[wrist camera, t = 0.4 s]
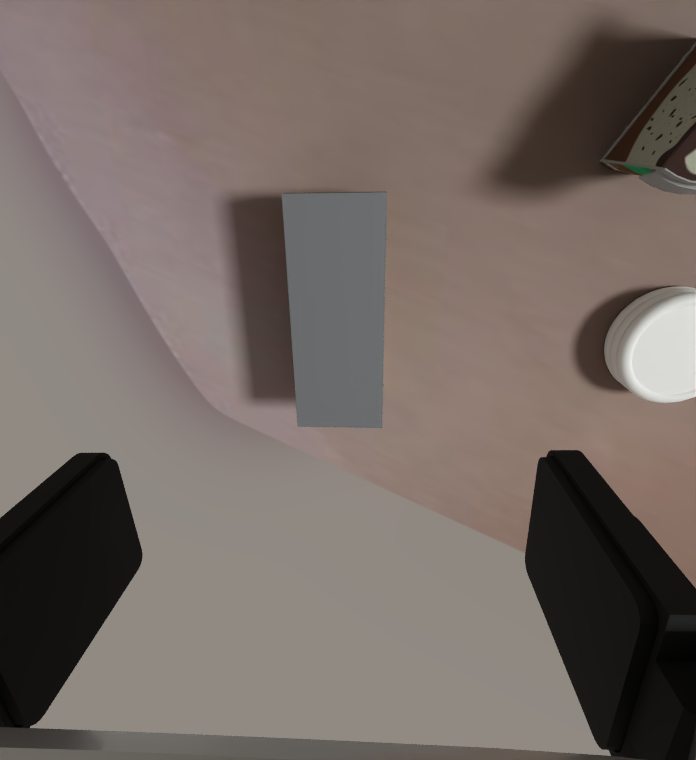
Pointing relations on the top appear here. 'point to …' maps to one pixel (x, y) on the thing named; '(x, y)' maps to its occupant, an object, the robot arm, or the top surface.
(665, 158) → the food container
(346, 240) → the lid
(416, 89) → the top surface
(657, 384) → the white short cylinder
